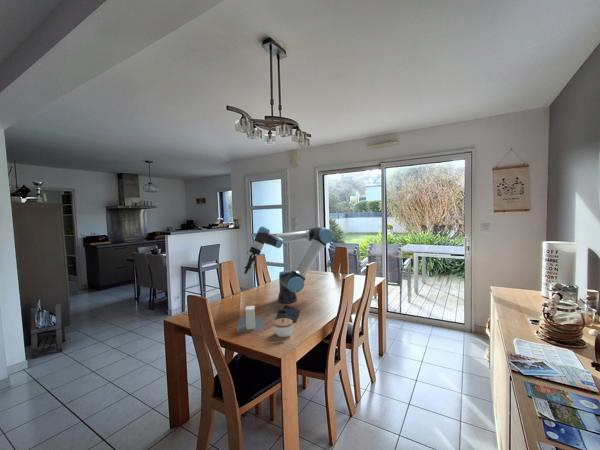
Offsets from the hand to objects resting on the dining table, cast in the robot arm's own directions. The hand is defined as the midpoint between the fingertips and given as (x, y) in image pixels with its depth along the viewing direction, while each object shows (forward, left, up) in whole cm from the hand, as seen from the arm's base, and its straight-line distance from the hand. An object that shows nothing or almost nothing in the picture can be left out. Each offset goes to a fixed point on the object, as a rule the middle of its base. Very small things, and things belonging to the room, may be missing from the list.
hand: (243, 277), depth 182 cm
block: (-5, +26, -24) cm, 36 cm away
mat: (-5, +20, -25) cm, 32 cm away
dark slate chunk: (-28, +11, -26) cm, 39 cm away
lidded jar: (-23, +39, -25) cm, 51 cm away
